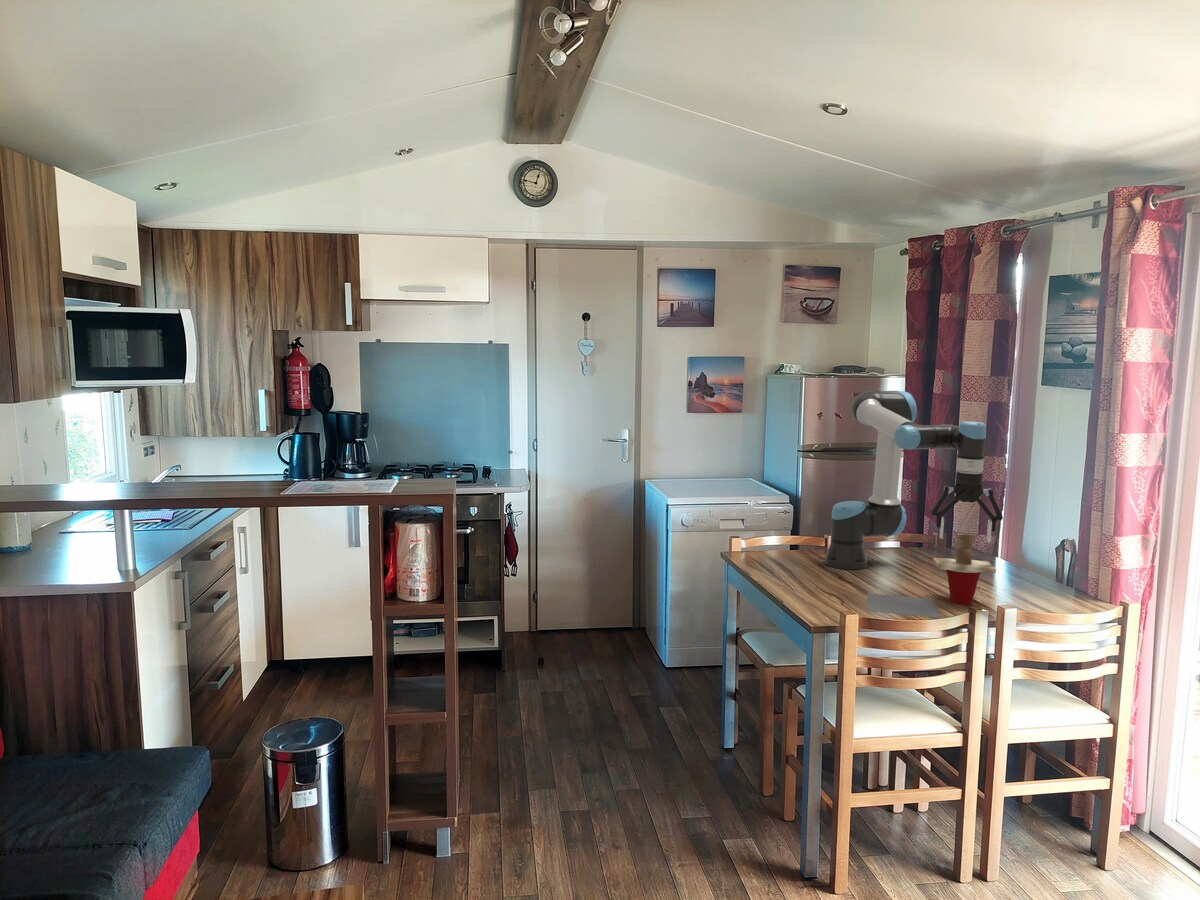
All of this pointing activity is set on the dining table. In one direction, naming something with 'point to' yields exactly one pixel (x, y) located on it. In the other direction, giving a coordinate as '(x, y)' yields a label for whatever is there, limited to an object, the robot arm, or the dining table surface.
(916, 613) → the mat
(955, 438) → the robot arm
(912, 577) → the dining table surface
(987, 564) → the lid
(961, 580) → the plastic cup
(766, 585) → the dining table surface
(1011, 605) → the dining table surface
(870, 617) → the dining table surface
